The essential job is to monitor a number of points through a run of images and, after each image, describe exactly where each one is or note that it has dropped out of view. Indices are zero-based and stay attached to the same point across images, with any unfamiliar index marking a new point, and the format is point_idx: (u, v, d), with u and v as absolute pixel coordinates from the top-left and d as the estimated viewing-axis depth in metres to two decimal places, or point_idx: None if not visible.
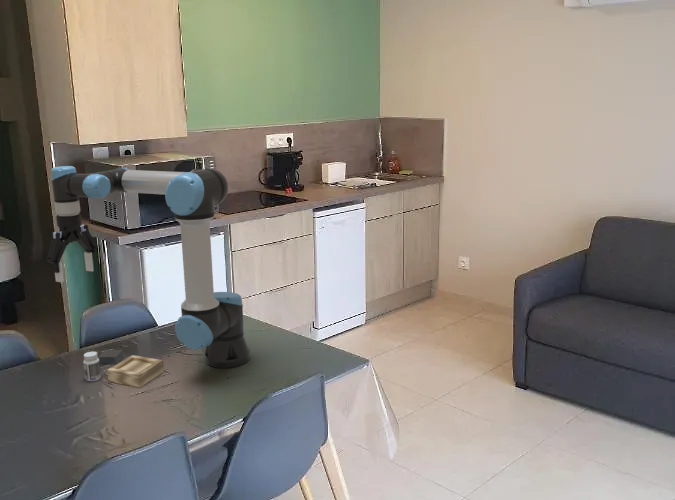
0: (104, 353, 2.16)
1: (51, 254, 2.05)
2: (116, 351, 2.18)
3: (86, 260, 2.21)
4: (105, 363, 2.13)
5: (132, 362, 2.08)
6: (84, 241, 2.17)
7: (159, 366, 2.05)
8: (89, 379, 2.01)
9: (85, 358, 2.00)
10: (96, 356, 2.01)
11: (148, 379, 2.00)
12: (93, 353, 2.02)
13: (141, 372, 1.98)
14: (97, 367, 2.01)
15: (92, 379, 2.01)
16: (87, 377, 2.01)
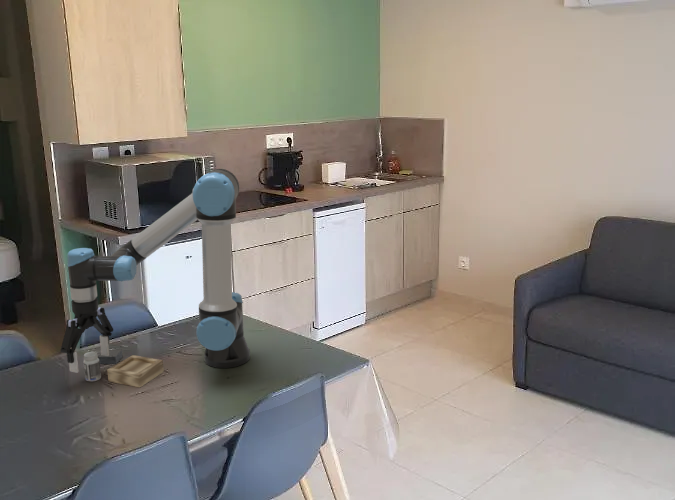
0: None
1: (66, 344, 1.91)
2: (116, 350, 2.18)
3: (101, 344, 2.07)
4: (104, 363, 2.14)
5: (132, 362, 2.08)
6: (100, 325, 2.03)
7: (159, 366, 2.05)
8: (89, 379, 2.01)
9: (85, 358, 2.00)
10: (96, 356, 2.01)
11: (148, 379, 2.00)
12: (93, 353, 2.02)
13: (141, 372, 1.98)
14: (97, 367, 2.01)
15: (92, 379, 2.01)
16: (87, 377, 2.01)
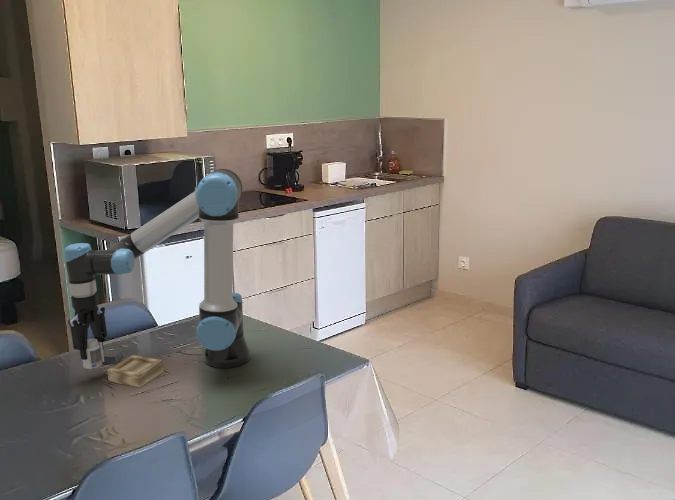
0: (104, 353, 2.16)
1: (76, 343, 1.94)
2: (116, 350, 2.18)
3: None
4: (104, 363, 2.14)
5: (132, 362, 2.08)
6: (97, 326, 2.01)
7: (159, 366, 2.05)
8: None
9: None
10: (96, 343, 2.00)
11: (148, 379, 2.00)
12: (93, 340, 2.00)
13: (141, 372, 1.98)
14: (97, 354, 2.00)
15: (93, 366, 2.00)
16: None
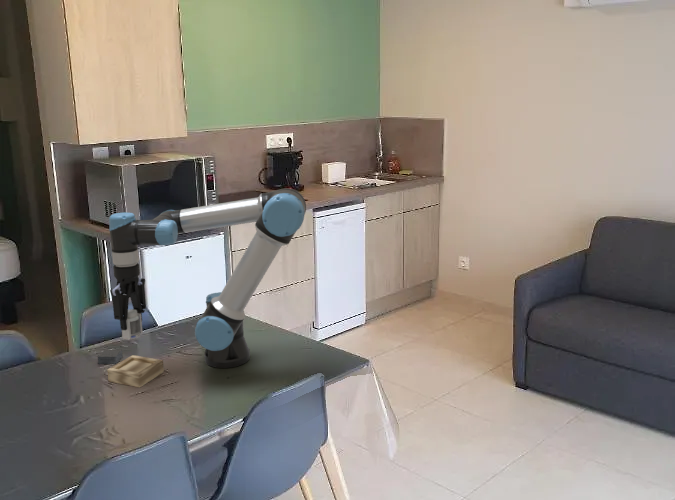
0: (103, 353, 2.16)
1: (117, 312, 1.93)
2: (116, 350, 2.18)
3: None
4: (104, 363, 2.14)
5: (132, 362, 2.08)
6: (137, 297, 2.00)
7: (159, 366, 2.05)
8: None
9: None
10: (136, 313, 1.99)
11: (148, 379, 2.00)
12: (133, 310, 1.99)
13: (141, 372, 1.98)
14: (136, 325, 1.99)
15: (132, 337, 1.99)
16: None
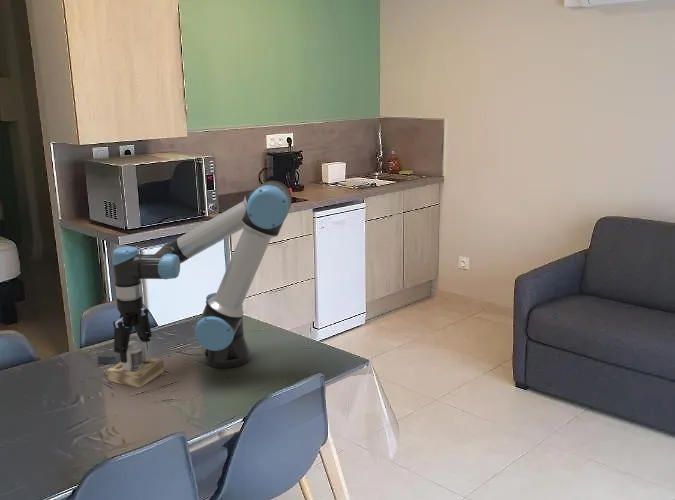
0: (104, 353, 2.16)
1: (118, 345, 1.94)
2: None
3: None
4: (104, 363, 2.14)
5: None
6: (142, 327, 2.03)
7: (159, 366, 2.05)
8: (132, 368, 2.01)
9: (128, 347, 2.00)
10: (139, 345, 2.01)
11: (148, 379, 2.00)
12: (136, 342, 2.02)
13: (141, 372, 1.98)
14: (139, 356, 2.01)
15: (135, 368, 2.01)
16: None
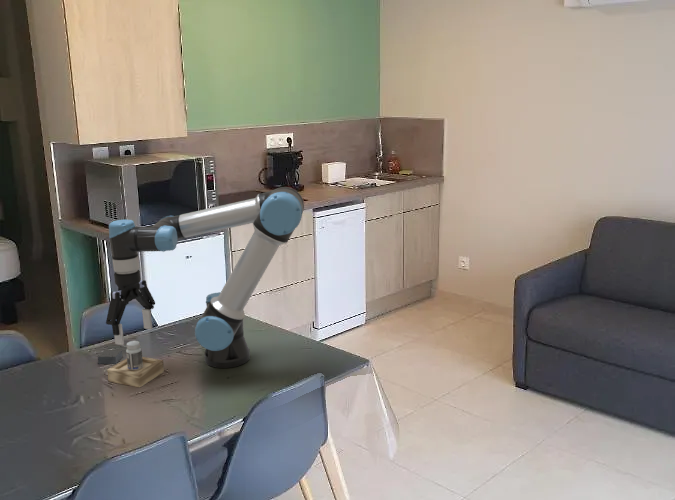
0: (103, 353, 2.16)
1: (111, 316, 1.90)
2: (116, 350, 2.18)
3: (144, 317, 2.06)
4: (104, 363, 2.14)
5: None
6: (143, 298, 2.02)
7: (159, 366, 2.05)
8: (132, 368, 2.01)
9: (128, 347, 2.00)
10: (139, 345, 2.01)
11: (148, 379, 2.00)
12: (136, 342, 2.02)
13: (141, 372, 1.98)
14: (139, 356, 2.01)
15: (135, 368, 2.01)
16: (130, 366, 2.01)
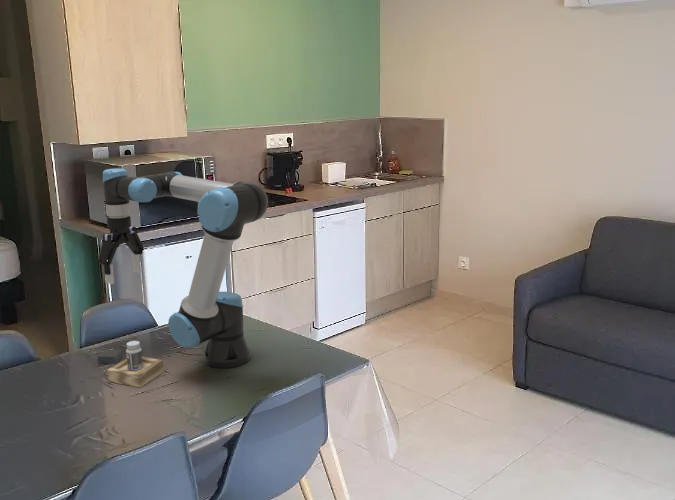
0: (103, 353, 2.16)
1: (103, 256, 2.06)
2: (116, 350, 2.18)
3: (133, 262, 2.22)
4: (104, 363, 2.14)
5: None
6: (132, 243, 2.18)
7: (159, 366, 2.05)
8: (132, 368, 2.01)
9: (128, 347, 2.00)
10: (139, 345, 2.01)
11: (148, 379, 2.00)
12: (136, 342, 2.02)
13: (141, 372, 1.98)
14: (139, 356, 2.01)
15: (135, 368, 2.01)
16: (130, 366, 2.01)
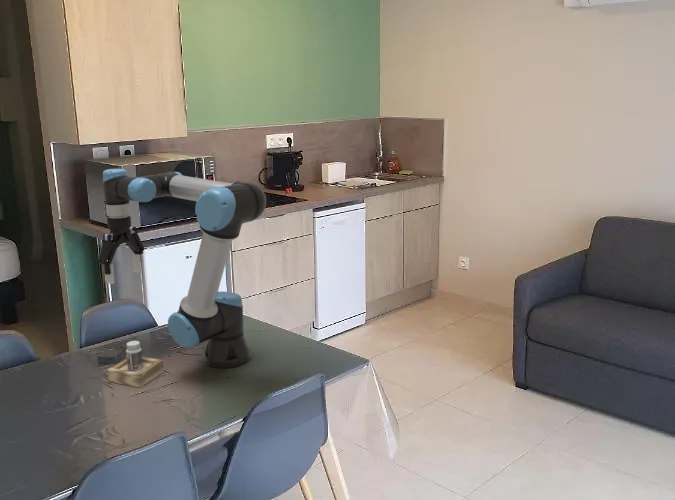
0: (103, 353, 2.16)
1: (103, 256, 2.07)
2: (116, 350, 2.18)
3: (134, 262, 2.23)
4: (104, 363, 2.14)
5: None
6: (133, 243, 2.19)
7: (159, 366, 2.05)
8: (132, 368, 2.01)
9: (128, 347, 2.00)
10: (139, 345, 2.01)
11: (148, 379, 2.00)
12: (136, 342, 2.02)
13: (141, 372, 1.98)
14: (139, 356, 2.01)
15: (135, 368, 2.01)
16: (130, 366, 2.01)
